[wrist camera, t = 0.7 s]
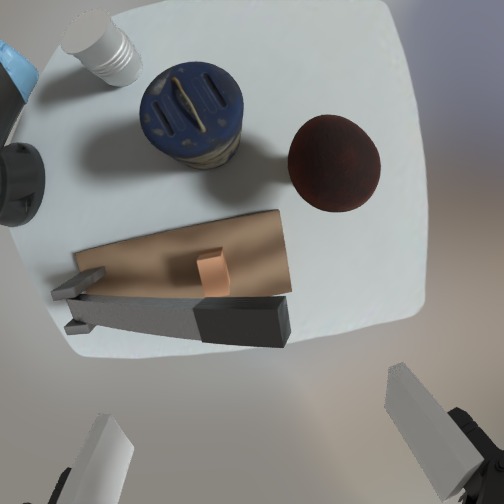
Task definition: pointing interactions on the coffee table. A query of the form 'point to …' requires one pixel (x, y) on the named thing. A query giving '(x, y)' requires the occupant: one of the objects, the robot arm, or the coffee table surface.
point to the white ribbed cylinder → (102, 48)
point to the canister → (194, 114)
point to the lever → (191, 317)
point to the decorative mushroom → (333, 164)
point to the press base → (187, 264)
